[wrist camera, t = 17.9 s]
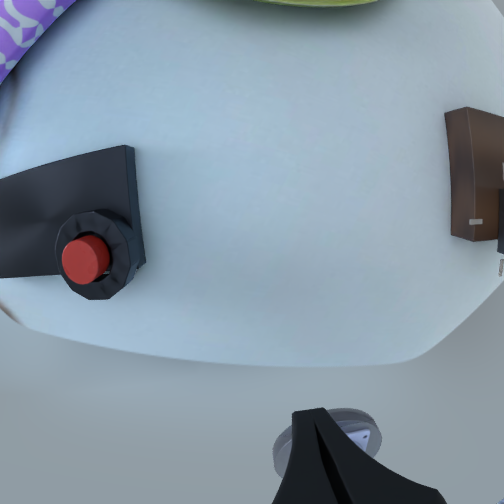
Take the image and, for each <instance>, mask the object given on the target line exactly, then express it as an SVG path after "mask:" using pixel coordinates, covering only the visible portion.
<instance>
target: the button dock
mask: <svg viewBox="0 0 504 504" xmlns="http://www.w3.org/2000/svg"><path fill="white" fill-rule="evenodd" d="M88 235H92V236H96V237H98V238H100V239H101V240H102V241H103V242H104V243H105V244H106V246H107V248H108V250H109V254H110V263H109V266H108V268H107V270H106V271H110V273H109V274H102V275H101V276H99V277H98V278H96V279H95V280H93V281H92V282H90V283H88V284H78V283H75V282H74V281H72V280H71V279H70V278H69V277H68V276H67V274H66V273H65V271H64V268H63V264H62V254H63V251H64V249H65V247H66V245H67V244H68V243H70V242H71V241H74V240H76V239H79V238H82V237H85V236H88ZM145 263H146V259H145V252H144V245H143V238H142V230H141V222H140V213H139V204H138V194H137V182H136V170H135V154H134V148H133V147H130V146H127V145H121V146H116V147H111V148H107V149H102V150H98V151H93V152H89V153H85V154H81V155H77V156H73V157H69V158H66V159H62V160H58V161H55V162H51V163H48V164H45V165H41V166H38V167H35V168H32V169H29V170H26V171H22V172H20V173H17V174H14V175H11V176H8V177H5V178H2V179H0V278H15V277H30V276H45V275H60V274H61V275H62V277H63V278H64V280H65V281H66V283H67V284H68V285H69V287H70V288H71V289H72V290H73V291H74V292H76V293H78V294H79V295H81V296H83V297H85V298H86V299H88V300H106V299H110V298H111V297H112V296H114V295H115V294H116V293H117V292H119V291H120V290H121V289H123V288H124V287H125V286H126V285H127V284H128V283H129V282H130V281H131V280H133V278H134V275H135V272H136V269H139V268H140V267H141V266H142V265H144V264H145Z"/></svg>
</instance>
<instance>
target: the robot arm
mask: <svg viewBox="0 0 504 504" xmlns="http://www.w3.org/2000/svg"><path fill="white" fill-rule="evenodd" d="M369 436H370V430H369V429H363V430H358V431H354V432H350V433H344V431H343V430H342V429H341V428H340V427H339V426H338V425H337V423H336V422H335V421H334V420H333V419H332V417H331V416H330V415H329V413H328V412H327V411H326V409H325V408H316V409H309V410H302V411H295V412H294V413H292V447H291V452H290V456H289V461H288V464H287V468H286V471H285V474H284V477H283V480H282V482H281V485H280V487H279V490H278V492H277V494H276V496H275V498H274V500H273V503H272V504H447V503H446V501H445V499H444V498H443V496H442V495H441V494H440V493H439V491H438V490H437V489H433V488H431V487H427V486H424V485H421V484H418V483H416V482H413V481H411V480H409V479H407V478H405V477H402V476H401V475H399V474H397V473H395V472H393V471H391V470H389V469H388V468H386V467H385V466H383V465H382V464H380V463H379V462H377V461H376V460H375V459H373V458H372V457H370V456H369V455H368V454H367V453H366V452H365V451H366V447H367V443H368V440H369ZM497 504H504V499H502V500H501V501H499V502H498V503H497Z"/></svg>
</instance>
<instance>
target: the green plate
mask: <svg viewBox="0 0 504 504" xmlns="http://www.w3.org/2000/svg"><path fill="white" fill-rule="evenodd" d="M254 1H260V2H265V3H271V4H278V5H286V6H297V7H344V6H354V5H361V4H366V3H371V2H375V1H378V0H254Z"/></svg>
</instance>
